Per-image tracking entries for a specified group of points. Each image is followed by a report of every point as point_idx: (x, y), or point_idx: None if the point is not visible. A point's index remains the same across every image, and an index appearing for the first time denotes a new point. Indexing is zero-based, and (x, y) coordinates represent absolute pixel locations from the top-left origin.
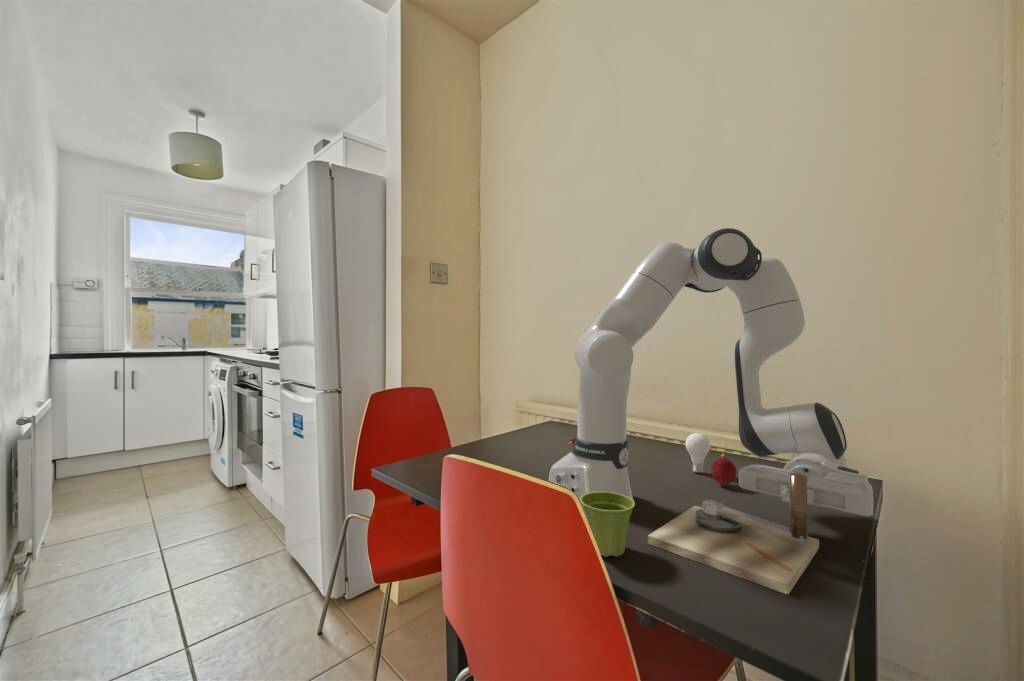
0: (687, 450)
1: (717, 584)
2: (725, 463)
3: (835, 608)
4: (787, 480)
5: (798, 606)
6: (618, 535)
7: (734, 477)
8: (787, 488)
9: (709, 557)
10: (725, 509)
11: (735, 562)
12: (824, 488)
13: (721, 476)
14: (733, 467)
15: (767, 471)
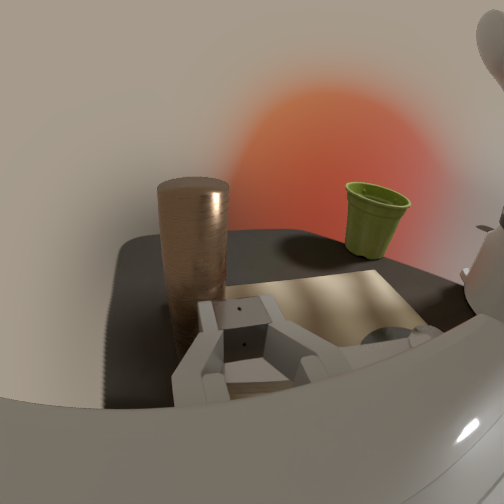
0: None
1: (249, 271)
2: None
3: (121, 314)
4: (341, 374)
5: (159, 291)
6: (347, 220)
7: None
8: (284, 332)
9: (289, 280)
10: (398, 346)
11: (258, 290)
12: (114, 410)
13: None
14: None
15: (488, 392)
